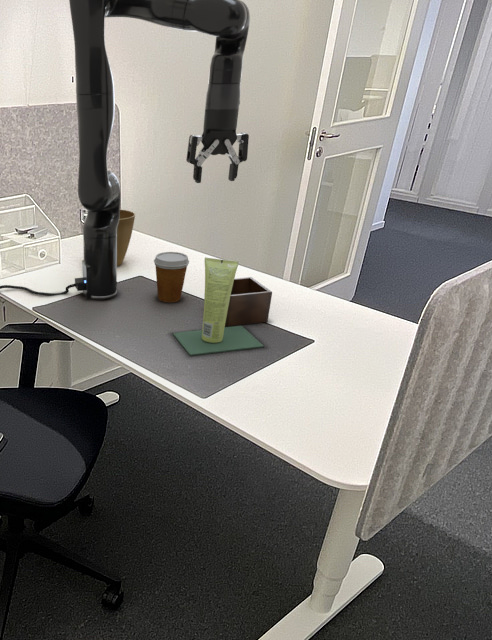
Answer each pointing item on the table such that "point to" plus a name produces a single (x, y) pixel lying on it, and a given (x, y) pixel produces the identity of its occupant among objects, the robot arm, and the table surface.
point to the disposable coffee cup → (170, 275)
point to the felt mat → (231, 341)
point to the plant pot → (124, 233)
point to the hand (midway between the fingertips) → (214, 181)
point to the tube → (217, 297)
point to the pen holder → (248, 302)
